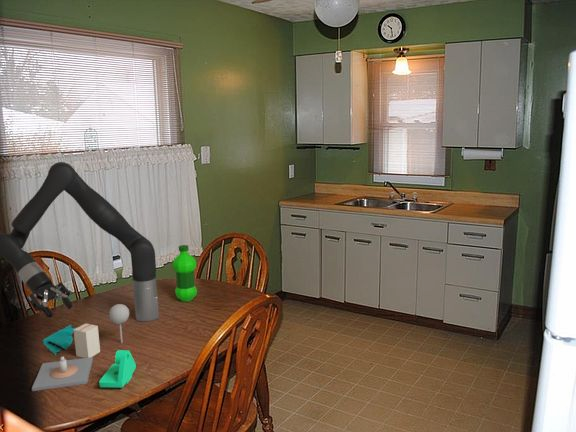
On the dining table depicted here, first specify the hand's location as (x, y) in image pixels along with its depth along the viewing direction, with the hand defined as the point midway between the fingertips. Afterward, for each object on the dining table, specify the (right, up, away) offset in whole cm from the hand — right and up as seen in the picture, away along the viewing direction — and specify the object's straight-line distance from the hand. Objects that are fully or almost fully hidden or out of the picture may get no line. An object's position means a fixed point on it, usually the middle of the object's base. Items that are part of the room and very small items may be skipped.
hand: (61, 311), depth 181 cm
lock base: (+8, -18, -15) cm, 24 cm away
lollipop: (+19, -13, +7) cm, 24 cm away
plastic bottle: (+35, -4, +49) cm, 60 cm away
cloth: (-5, -13, +10) cm, 18 cm away
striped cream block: (+10, -15, -1) cm, 18 cm away
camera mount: (+26, -19, -18) cm, 37 cm away
